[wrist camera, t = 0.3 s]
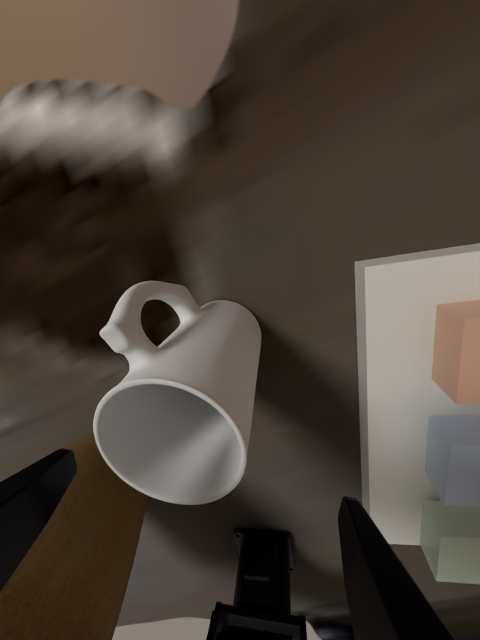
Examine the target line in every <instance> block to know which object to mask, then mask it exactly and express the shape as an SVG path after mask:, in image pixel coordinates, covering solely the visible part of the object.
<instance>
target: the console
mask: <svg viewBox="0 0 480 640" xmlns="http://www.w3.org/2000/svg"><path fill="white" fill-rule="evenodd" d="M355 293H356V324H357V354H358V385H359V416H360V447H361V477H362V505H363V507H364V508H365V510H366V511H367V513H368V514H369V516H370V517H371V519H372V520H373V522H374V523H375V524H376V526H377V527H378V529H379V530H380V532H381V533H382V535H383V536H384V538H385V539H386V541H387V542H388V543H389V544H404V545H420V532H421V518H422V504H423V501H441V499H440V497H439V496H438V494H437V492H436V490H435V489H434V487H433V485H432V483H431V482H430V480H429V478H428V476H427V475H426V473H425V462H426V448H427V434H428V420H429V417H436V416H464V415H480V403H462V404H455V403H454V402H453V401H452V400H451V399H450V397H449V396H448V395H447V394H446V393H445V392H444V391H443V390H442V389H441V388H440V387H439V386H438V385H437V384H436V383H435V382H434V381H433V380H432V379H431V378H432V365H433V351H434V337H435V323H436V309H437V305H438V304H447V303H456V302H465V301H474V300H480V243H478V244H471V245H464V246H457V247H451V248H444V249H437V250H430V251H424V252H417V253H410V254H403V255H396V256H390V257H383V258H376V259H369V260H363V261H356V262H355Z"/></svg>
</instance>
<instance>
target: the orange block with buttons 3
mask: <svg viewBox="0 0 480 640" xmlns="http://www.w3.org/2000/svg"><path fill="white" fill-rule="evenodd" d="M431 379H432V380H433V381H434V382H435V383H436V384H437V385H438V386H439V387H440V388H441V389H442V390H443V391H444V392H445V393H446V394H447V395H448V396H449V397H450V399H451V400H452V401H453V402H454V403H455V404H462V403H480V300H474V301H465V302H456V303H447V304H438V305H437V309H436V323H435V337H434V351H433V365H432V378H431Z"/></svg>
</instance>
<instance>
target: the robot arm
mask: <svg viewBox="0 0 480 640" xmlns="http://www.w3.org/2000/svg"><path fill="white" fill-rule="evenodd" d="M76 472H77V462H76V458H75V454H74V451H73V450H70V449H64V448H62V449H59V450H57V451H55V452H53V453H51V454H50V455H48V456H46V457H44V458H42V459H41V460H39V461H37V462H35V463H34V464H32V465H30V466H28V467H26V468H25V469H23V470H21V471H19V472H18V473H16V474H14V475H12V476H10V477H9V478H7V479H5V480H3V481H2V482H0V592H1V590H2V589H3V588H4V586H5V585H6V583H7V582H8V580H9V579H10V577H11V576H12V574H13V573H14V572H15V570H16V569H17V567H18V566H19V564H20V563H21V561H22V560H23V558H24V557H25V555H26V554H27V553H28V551H29V550H30V548H31V547H32V545H33V544H34V542H35V541H36V539H37V538H38V536H39V535H40V534H41V532H42V531H43V529H44V527H45V526H46V524H47V523H48V521H49V520H50V518H51V516H52V515H53V513H54V511H55V509H56V508H57V506H58V504H59V502H60V501H61V499H62V497H63V496H64V494H65V492H66V490H67V489H68V487H69V485H70V483H71V482H72V480H73V478H74V476H75V475H76ZM338 526H339V536H340V545H341V554H342V564H343V573H344V582H345V589H346V595H347V600H348V605H349V610H350V616H351V621H352V626H353V631H354V636H355V640H454V638H453V637H452V635H451V634H450V632H449V631H448V630H447V628H446V627H445V625H444V624H443V622H442V621H441V619H440V618H439V616H438V615H437V614H436V612H435V611H434V609H433V608H432V606H431V605H430V603H429V602H428V600H427V599H426V597H425V596H424V595H423V593H422V592H421V590H420V589H419V587H418V586H417V584H416V583H415V581H414V580H413V578H412V577H411V576H410V574H409V573H408V571H407V570H406V568H405V567H404V565H403V564H402V562H401V561H400V560H399V558H398V557H397V555H396V554H395V552H394V551H393V549H392V548H391V546H390V545H389V543H388V542H387V541H386V539H385V538H384V536H383V535H382V533H381V532H380V530H379V529H378V527H377V526H376V524H375V523H374V522H373V520H372V519H371V517H370V516H369V514H368V513H367V511H366V510H365V508H364V507H363V505H362V504H361V503H360V501H359V500H358V499H356V498H352V497H346V496H344V497H343V499H342V502H341V506H340V509H339V513H338ZM233 536H234V540H235V544H236V548H237V551H238V555H239V564H238V571H237V579H236V587H235V595H234V603H233V606H232V605H226V604H222V603H221V602H217V603H216V607H215V610H214V611H212V615H211V621H210V626H209V631H208V635H207V639H206V640H307V633H306V619H305V616H302V615H300V617H299V616H293V615H291V603H290V572H295V561H294V555H293V549H292V543H291V537H290V533H288V532H285V531H265V530H243V529H235V530H234V533H233Z"/></svg>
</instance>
